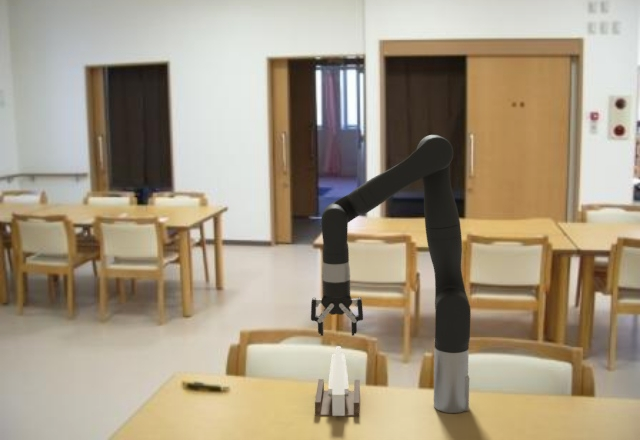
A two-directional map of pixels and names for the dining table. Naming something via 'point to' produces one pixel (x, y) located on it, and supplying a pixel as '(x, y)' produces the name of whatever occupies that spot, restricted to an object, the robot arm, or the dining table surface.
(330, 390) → the shelf bracket
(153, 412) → the dining table surface
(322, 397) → the walnut channel
